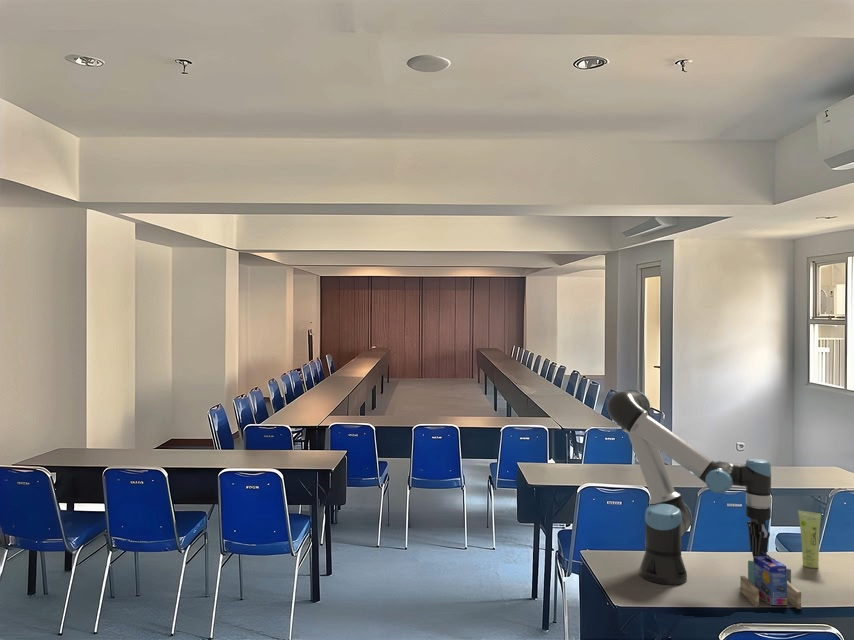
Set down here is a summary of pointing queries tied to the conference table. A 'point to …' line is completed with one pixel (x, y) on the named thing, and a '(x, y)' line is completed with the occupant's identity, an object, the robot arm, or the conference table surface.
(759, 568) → the ink cartridge box
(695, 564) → the conference table surface
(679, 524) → the robot arm
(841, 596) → the conference table surface
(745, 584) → the pair of wooden planks
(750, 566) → the gate
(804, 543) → the tube
